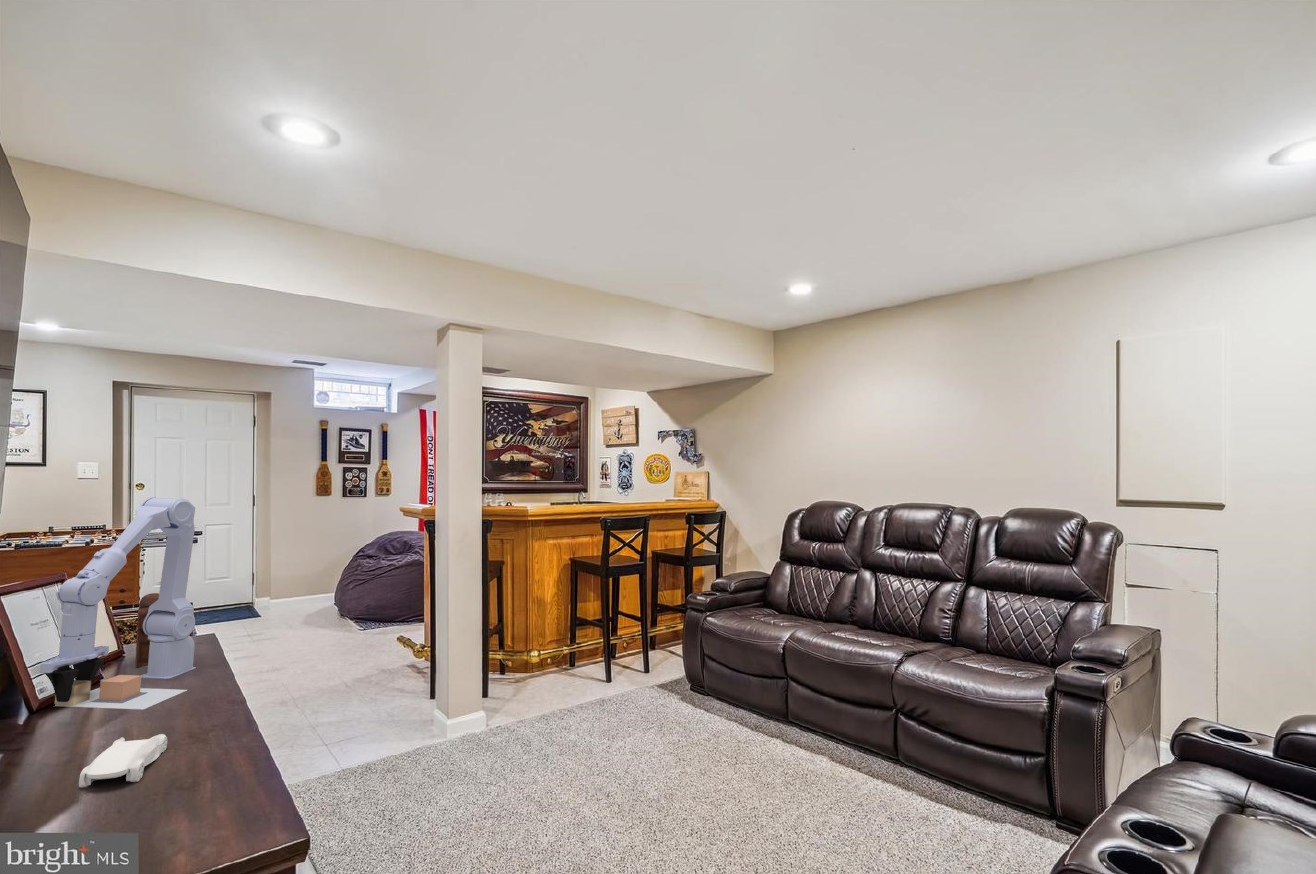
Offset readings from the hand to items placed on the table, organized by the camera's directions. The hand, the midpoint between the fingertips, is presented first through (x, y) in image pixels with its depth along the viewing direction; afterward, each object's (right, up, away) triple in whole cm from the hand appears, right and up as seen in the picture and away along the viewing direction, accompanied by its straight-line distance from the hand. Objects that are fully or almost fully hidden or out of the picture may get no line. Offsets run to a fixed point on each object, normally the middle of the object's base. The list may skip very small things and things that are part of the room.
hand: (72, 697), depth 143 cm
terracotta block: (+7, -1, +4) cm, 8 cm away
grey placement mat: (+7, -2, +4) cm, 9 cm away
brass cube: (0, -1, 0) cm, 1 cm away
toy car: (+34, -1, -29) cm, 45 cm away
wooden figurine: (-8, -4, +32) cm, 33 cm away
